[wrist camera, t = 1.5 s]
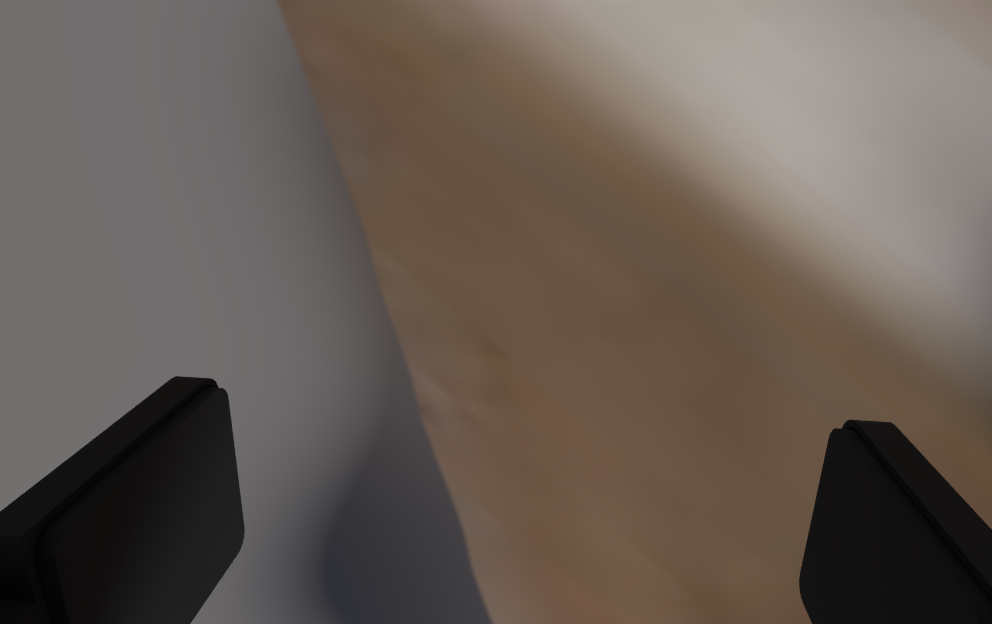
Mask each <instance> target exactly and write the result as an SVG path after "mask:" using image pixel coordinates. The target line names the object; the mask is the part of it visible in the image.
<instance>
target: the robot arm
mask: <svg viewBox="0 0 992 624" xmlns="http://www.w3.org/2000/svg"><path fill="white" fill-rule="evenodd" d="M243 539H244V521H243V512H242V504H241V496H240V488H239V480H238V472H237V464H236V456H235V447H234V439H233V431H232V423H231V416H230V407H229V400H228V394H227V392H226V390H224V389H223V388H218V385H217V383H216V381H214V380H213V379H209V378H193V377H179V376H176V377H174V378H172V379H170V380H169V381H168V382H167V383H165V384H164V385H163V386H161V387H160V388H159V389H157V390H156V391H155V392H154V393H152V394H151V395H150V396H149V397H147V398H146V399H145V400H143V401H142V402H141V403H140V404H138V405H137V406H136V407H134V408H133V409H132V410H131V411H129V412H128V413H127V414H125V415H124V416H123V417H122V418H120V419H119V420H118V421H116V422H115V423H114V424H112V425H111V426H110V427H109V428H107V429H106V430H105V431H103V432H102V433H101V434H100V435H98V436H97V437H96V438H94V439H93V440H92V441H91V442H89V443H88V444H87V445H85V446H84V447H83V448H82V449H80V450H79V451H78V452H76V453H75V454H74V455H73V456H71V457H70V458H69V459H67V460H66V461H65V462H64V463H62V464H61V465H60V466H58V467H57V468H56V469H55V470H53V471H52V472H51V473H49V474H48V475H47V476H46V477H44V478H43V479H42V480H40V481H39V482H38V483H36V484H35V485H34V486H33V487H31V488H30V489H29V490H28V491H26V492H25V493H24V494H22V495H21V496H20V497H18V498H17V499H16V500H15V501H13V502H12V503H11V504H9V505H8V506H7V507H6V508H4V509H3V510H2V511H0V624H190V623H191V622H192V620H193V619H194V617H195V616H196V615H197V613H198V611H199V610H200V609H201V607H202V606H203V604H204V603H205V601H206V600H207V598H208V597H209V595H210V594H211V593H212V591H213V590H214V588H215V587H216V585H217V584H218V582H219V581H220V579H221V578H222V576H223V575H224V573H225V572H226V571H227V569H228V568H229V566H230V565H231V563H232V562H233V560H234V559H235V557H236V556H237V554H238V553H239V551H240V549H241V546H242V543H243ZM799 586H800V594H801V598H802V601H803V604H804V606H805V608H806V611H807V613H808V615H809V617H810V620H811V622H812V624H992V530H991V529H990V527H989V526H988V525H987V524H986V523H985V522H984V521H983V520H982V519H981V518H980V517H979V516H978V514H977V513H976V512H975V511H974V510H973V509H972V508H971V507H970V506H969V505H968V504H967V503H966V502H965V500H964V499H963V498H962V497H961V496H960V495H959V494H958V493H957V492H956V491H955V490H954V489H953V487H952V486H951V485H950V484H949V483H948V482H947V481H946V480H945V479H944V478H943V477H942V476H941V475H940V473H939V472H938V471H937V470H936V469H935V468H934V467H933V466H932V465H931V464H930V463H929V462H928V460H927V459H926V458H925V457H924V456H923V455H922V454H921V453H920V452H919V451H918V450H917V449H916V447H915V446H914V445H913V444H912V443H911V442H910V441H909V440H908V439H907V438H906V437H905V436H904V435H903V433H902V432H901V431H900V430H899V429H898V428H897V427H896V426H895V425H894V424H892V423H891V422H876V421H860V420H848V421H847V422H845V424H844V425H843V427H842V429H836V428H835V429H834V430H832V432H831V433H830V436H829V440H828V444H827V449H826V454H825V458H824V463H823V468H822V473H821V477H820V482H819V487H818V491H817V496H816V501H815V506H814V510H813V515H812V520H811V524H810V529H809V534H808V539H807V543H806V548H805V553H804V557H803V562H802V567H801V572H800V578H799Z"/></svg>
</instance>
